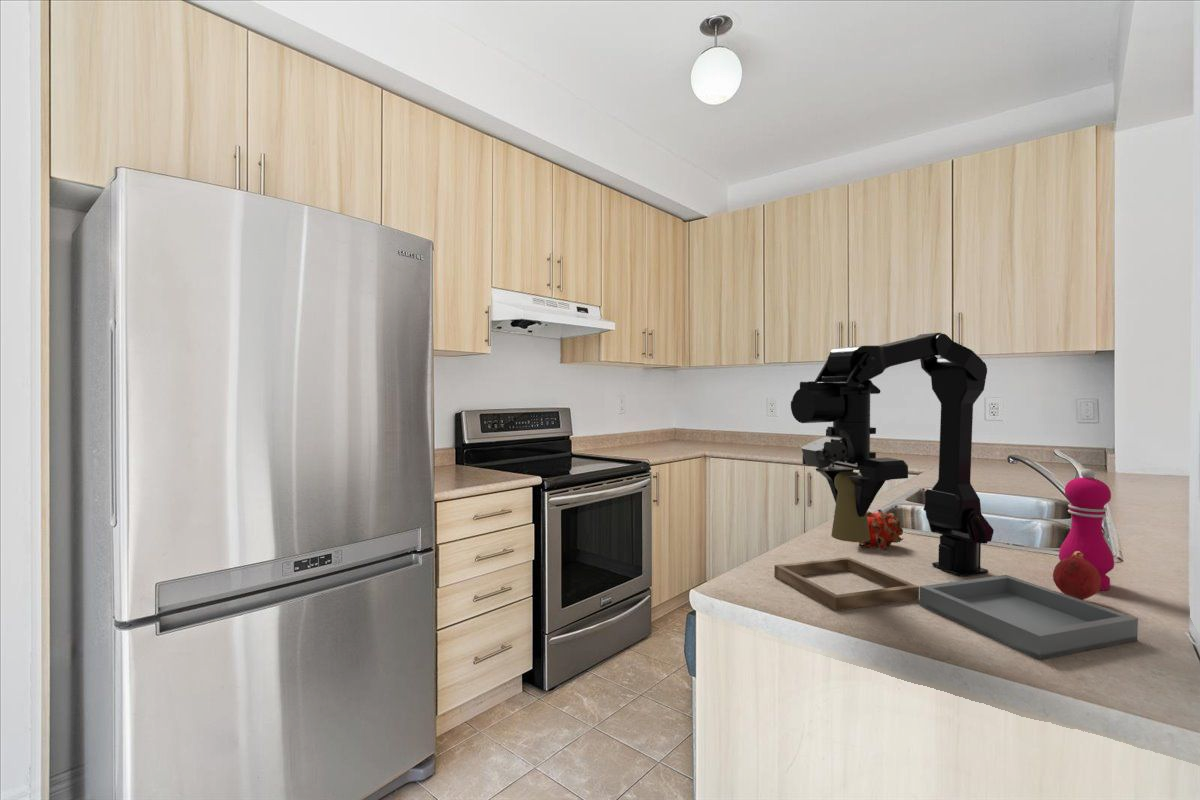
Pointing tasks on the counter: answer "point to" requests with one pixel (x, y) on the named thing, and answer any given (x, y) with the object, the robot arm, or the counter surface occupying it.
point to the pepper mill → (1088, 524)
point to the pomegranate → (1077, 577)
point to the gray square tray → (1029, 616)
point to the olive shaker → (848, 512)
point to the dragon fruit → (883, 530)
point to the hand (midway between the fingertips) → (850, 513)
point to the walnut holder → (893, 593)
